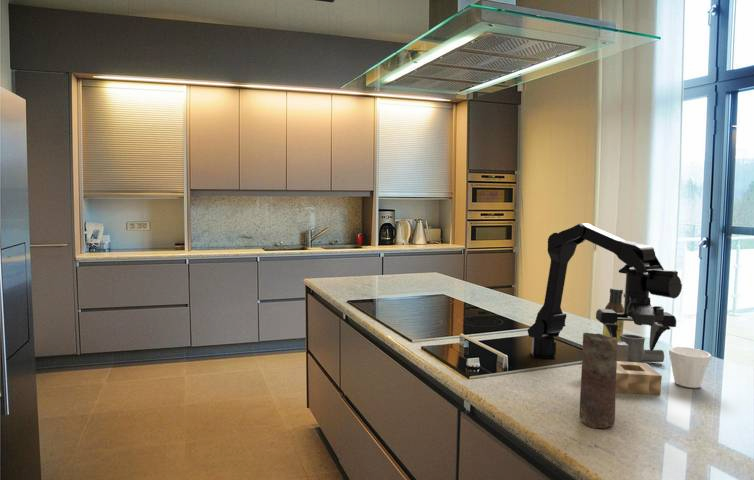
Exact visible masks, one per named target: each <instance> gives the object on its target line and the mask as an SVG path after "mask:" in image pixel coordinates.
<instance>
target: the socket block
mask: <svg viewBox="0 0 754 480" xmlns="http://www.w3.org/2000/svg"><path fill="white" fill-rule="evenodd" d="M662 376H663V375H661V374H660V373H659V372H658V371H656V370H655V368H653V367H652V366H651V365H649V364H648V362H623V361H617V370H616V393H628V394H629V393H630V394H642V395H657V396H659V395H661V390H662Z"/></svg>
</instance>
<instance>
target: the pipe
mask: <svg viewBox="0 0 754 480" xmlns="http://www.w3.org/2000/svg"><path fill="white" fill-rule="evenodd" d="M619 337H620V339H621V342H625V343H626V344H628V345H629V346H628V362H639V363H664V361H665V352H664V350H662V349H653V351H651V350H650V349H645V340H646V338H645V337H644V336H642V335H641V336H640V335H636V334H629V333H626V334H625V333H623V334H622V335H620V336H619Z"/></svg>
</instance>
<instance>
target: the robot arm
mask: <svg viewBox="0 0 754 480" xmlns="http://www.w3.org/2000/svg"><path fill="white" fill-rule="evenodd" d="M585 241H588V242H590V243H592V244H594V245H597V246H598V247H601V248H603V249H605V250H607V251H610V252H611V253H613V254H615V255H616V256H617V258H618V259H619V260H620V261H621V262H622V263H624V266H623V267H622V268H620V269H619V270H618V273H620V274H625V285H624V286H625V287H624V292H623V298H624V304H623V305H624V306H623V307H624V308H623V312H624V314H623V313H616V312H614V311H613V310H609V309H605V308H598V309H597V310H596V313H595V320H597V321H598V322H599V323H601V324H602V325H605V326H606V327H607V329H608V332H609V334H610V337H612V338H613V337H616V338H617V328H618V325H617V324H616V322H617V320H623V321H624V322H625V321H627V322H633V323H634V325H637V326H642V325H643V326H644V325H645V326H649V327H650V332H649V333H650V334H649V350H651V351H653V350H655V347H656V346H657V343H658V341H659V339H660V337H661V336H662V334H663V333H664V332H666V330H667V331H668V330H671V328H676V327H677V318H676V316H675V315H673V314H671V313H669V312H668V311H667V312H665V309H664V308H663V305H662V306H661V305H654V306H652V304H651V297H650V296H649V295H653V296H658V297H665V298H670V299H677V298H678V297H679V295H680V294H681V291H682V289H683V284H682V281H681V279H680V277H679V276H678V273H679V272H678V271H677V270H667V269H666V270H665V269H664V267H663V265H662V264H661V262H660V261H659V259H658V258H657V256H656V251H655V248H654V247H653V246H651V245H649V244H646V243H641V242H638V241H629V240H627V239H626V240H625V239H623V238H622V237H618V236H616V235H614V234H612V233H610V232H607V231H605V230H603V229H600V228H598V227H596V226H593V224H591V223H577V224H575V225H574V226H572V227H569V228H567V229H564V230H561V231H560V232H553V233H552V234H550V235H549V236H548V238H547V253H548V255H549V258H550V264H549V270H548V276H547V283H546V290H545V295H544V303H543V305H542V306H541V307H540V309H539V311H538V312H537V314H536V318H535V321H534V323H533V324H532V325H531V326H530V327H528V328H527V334H528V336H529V337H530V338H532V340H531V341H532V342H531V350H530V354H531V355H532V357H533V358H536V359H538V358H539V359H552V360H553V359H556V357H555V356H556V353H557V351H556V350H557V342H556V341H555V340H556V339H555V337H557V338H558V337H559V335H560V333H561V331H563V329H564V327H566V319H567V313H563V310H562V306H561V305H562V300H563V293H564V288H565V282H566V276H567V271H568V270H567V269H568V263H569V262H570V261H571V259H572V257H573V256H574V255H575V252H576V249H577V246H579V245H580V244H582V243H584V242H585Z"/></svg>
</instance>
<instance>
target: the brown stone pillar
mask: <svg viewBox="0 0 754 480" xmlns="http://www.w3.org/2000/svg"><path fill="white" fill-rule="evenodd" d="M617 343H618V339H617V338H616V337H613V338H612V337H608V336H605V335H603V333H593V332H592V333H591V332H583V333H582V354H581V375H580V376H581V377H580V378H581V380H580V396H579V419H580V420H581V421H582V422H583V423H584V424H585V425H586V427H589V428H593V429H599V428H600V429H605V428H606V429H607V427H611V426H614V425H615V422H616V396H617V395H616V393H617V392H616V370H617Z"/></svg>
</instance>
